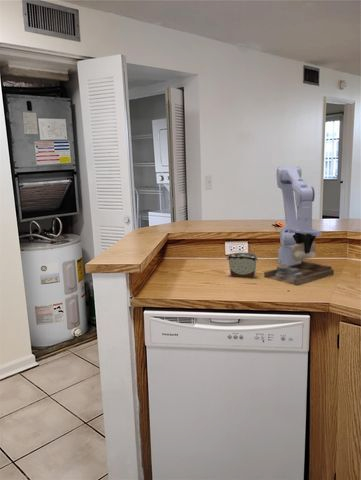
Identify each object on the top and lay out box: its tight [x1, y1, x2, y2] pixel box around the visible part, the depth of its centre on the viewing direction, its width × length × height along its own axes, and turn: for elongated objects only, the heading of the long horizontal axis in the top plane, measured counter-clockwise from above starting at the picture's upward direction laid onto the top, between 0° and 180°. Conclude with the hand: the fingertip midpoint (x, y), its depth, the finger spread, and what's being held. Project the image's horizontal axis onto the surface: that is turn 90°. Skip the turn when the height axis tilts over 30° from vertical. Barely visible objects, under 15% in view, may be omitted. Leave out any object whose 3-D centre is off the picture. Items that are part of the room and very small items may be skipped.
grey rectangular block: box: [292, 241, 316, 261], centre depth 162 cm, size 2×11×6 cm, turn 125°
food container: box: [226, 252, 259, 280], centre depth 165 cm, size 12×6×10 cm, turn 65°
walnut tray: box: [263, 260, 335, 287], centre depth 162 cm, size 16×22×4 cm
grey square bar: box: [275, 265, 302, 282], centre depth 159 cm, size 10×4×4 cm, turn 35°
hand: (304, 252), depth 163 cm, fingers closed on grey rectangular block, 2 cm apart
